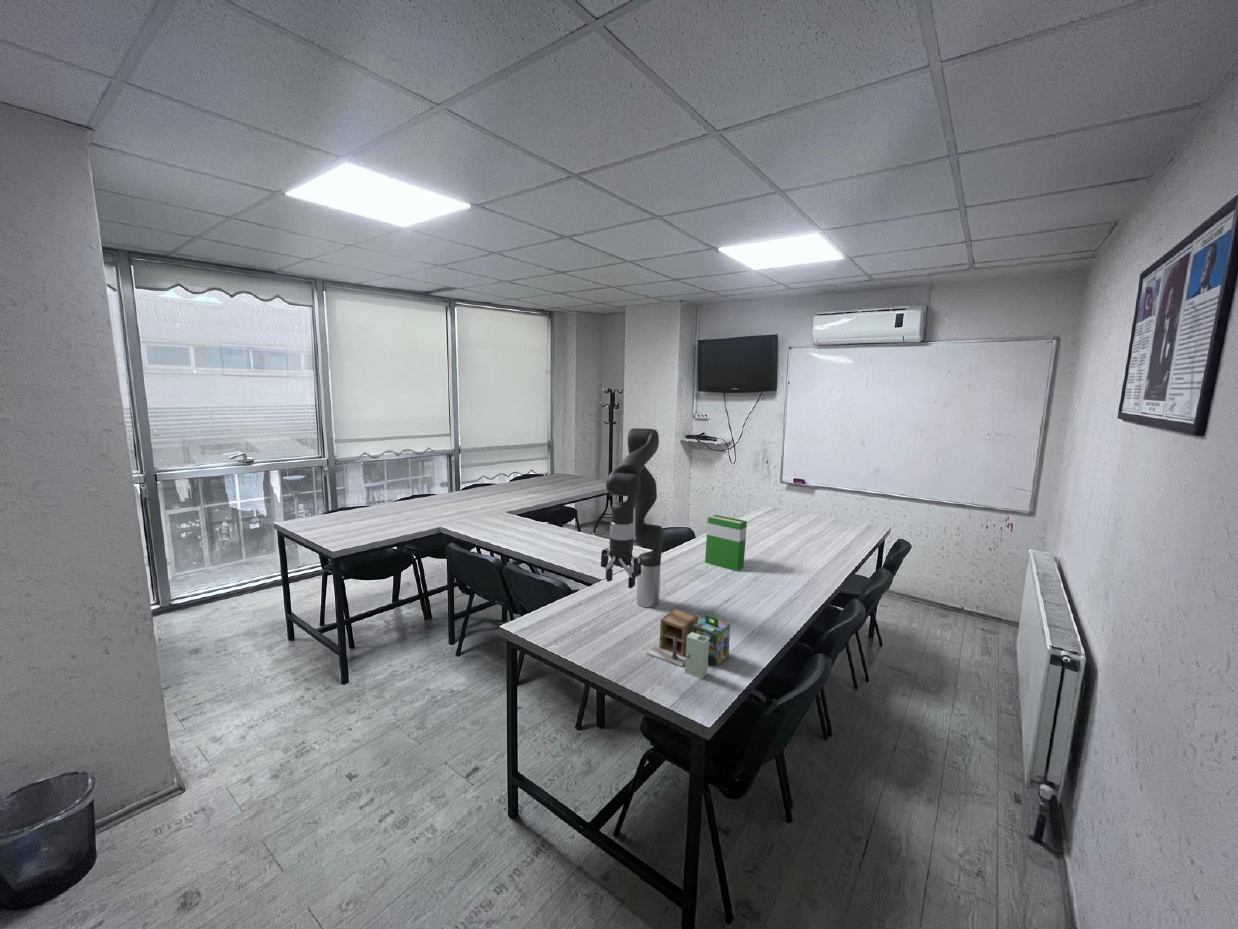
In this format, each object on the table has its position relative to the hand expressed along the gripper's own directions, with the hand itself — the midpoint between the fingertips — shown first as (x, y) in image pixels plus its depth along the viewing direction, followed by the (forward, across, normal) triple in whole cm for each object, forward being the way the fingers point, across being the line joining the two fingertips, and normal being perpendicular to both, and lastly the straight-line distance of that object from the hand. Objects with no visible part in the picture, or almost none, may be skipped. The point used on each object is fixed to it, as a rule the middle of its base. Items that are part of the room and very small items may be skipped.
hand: (620, 584), depth 159 cm
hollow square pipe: (+25, -24, -8) cm, 36 cm away
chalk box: (+26, -24, -20) cm, 40 cm away
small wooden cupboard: (+25, -13, -15) cm, 32 cm away
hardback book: (+25, +8, -103) cm, 106 cm away
